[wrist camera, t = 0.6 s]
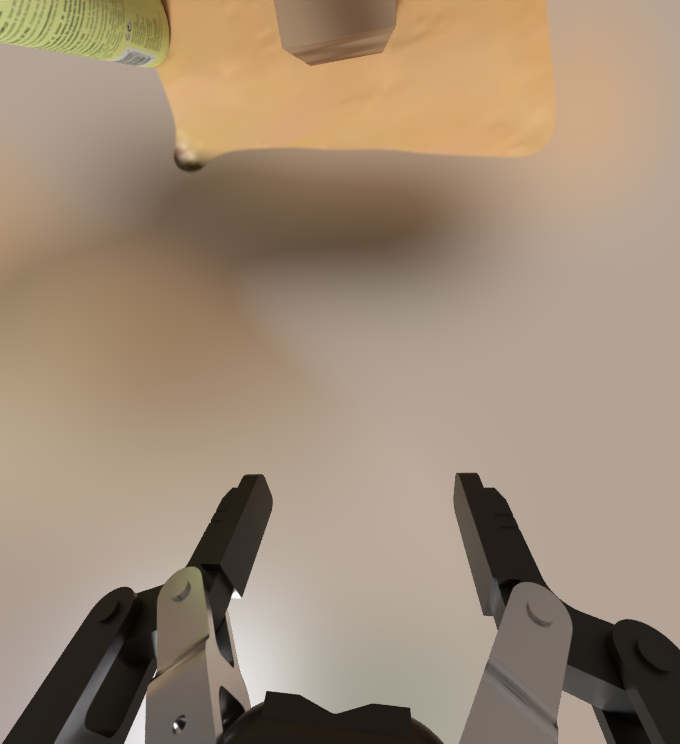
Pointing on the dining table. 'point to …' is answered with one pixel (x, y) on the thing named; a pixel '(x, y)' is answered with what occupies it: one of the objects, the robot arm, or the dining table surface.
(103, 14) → the tube
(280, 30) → the tower upper
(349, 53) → the tower lower
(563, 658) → the robot arm
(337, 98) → the dining table surface
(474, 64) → the dining table surface
